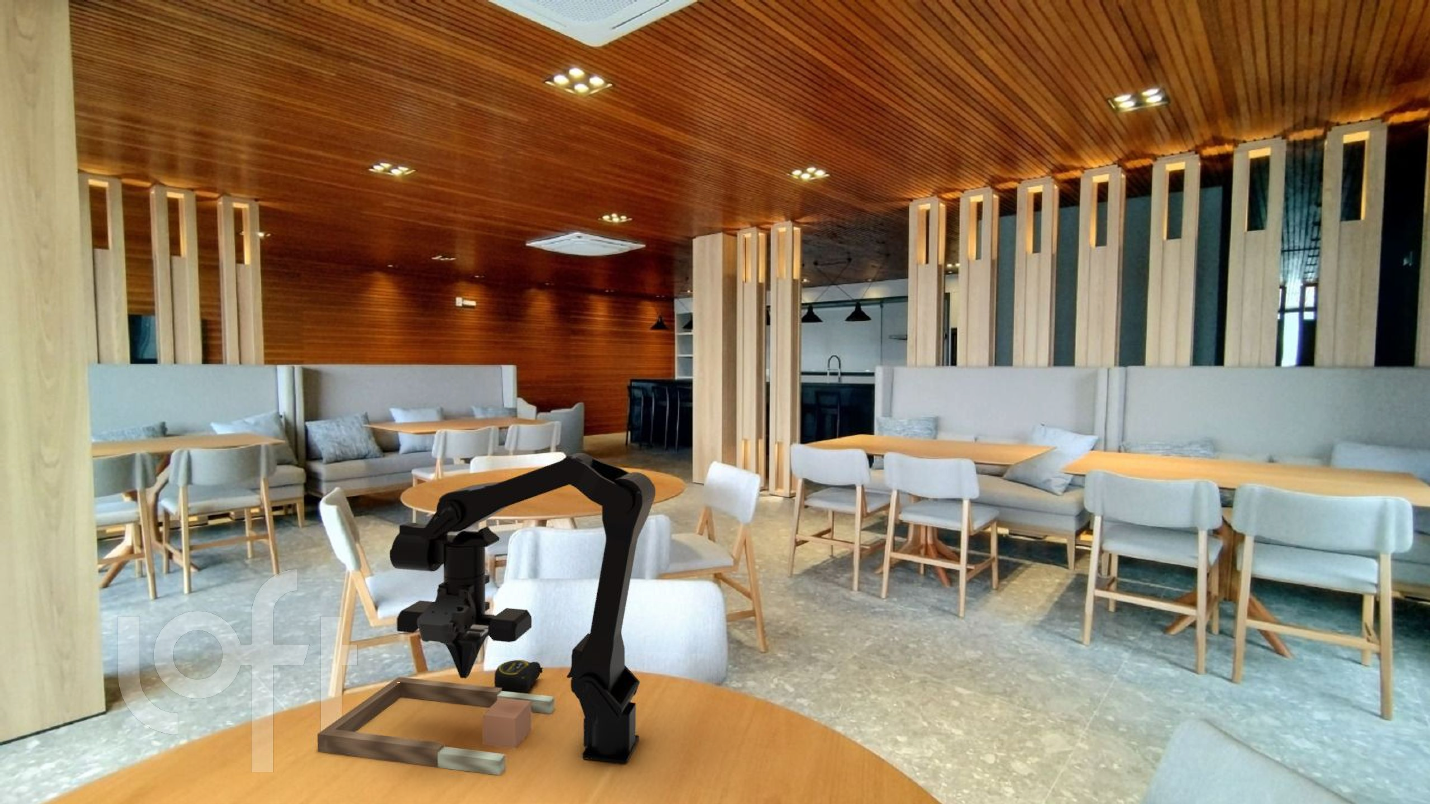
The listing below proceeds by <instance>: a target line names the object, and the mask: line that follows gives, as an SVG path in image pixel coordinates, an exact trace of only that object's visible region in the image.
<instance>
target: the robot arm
mask: <svg viewBox="0 0 1430 804" xmlns="http://www.w3.org/2000/svg"><path fill="white" fill-rule="evenodd" d="M566 486H572V487H574V488H576V489H577V490H578V491H579V492H580V493H581V494H582V495H584V496H585V497H586V498H587V499H589V500H590V501H592V502H594V504H597V505H599V506H601V521H602V525H603V531H604V534H605V544H604V548H603V554H602V556H603V557H602V562H601V565H600V566H601V567H600V573H599V578H598V584H597V591H596V596H595V602H594V607H593V613H592V619H591V624H590V625H591V626H590V632H589V633H587V634H586V635H585V636H584V637H583V638H582V639H581V640H580V641H579V642H578V643H577V644H576V645H575V647H574V648H572V650H571V656H570V657H571V665H570V666H571V667H570V668H569V669H570V670H569V672H568V674H567V675H566V678H567V679H570V690H571V693H573V694H574V696H575V697H576V698H577V699H578V700H579V704H580V706H581V709H582V710H581V711H582V712H583V715H584V718H583V739H582V740H583V744H582V745H583V747H584V748H585V749H584V750H583V752H582V755H581V757H582V759H583V760H592V761H600V762H609V763H614V764H615V763H616V764H627V762H629V759H630V757H631V756H632V753H633V752H634V750H635V748H636V747H637V744H638V742H639V740H640V736H639V735H638V734H636V726H637V725H636V723H637V722H636V718H637V715H636V714H637V713H636V712H637V709H636V707H637V704H636V702H631V700H633V698H634V696H635V695H636V693H637V692H638V689H639V687H640V685H641V684H640V683H641V682H640V680H639V679H638V677H636V675H635V674H634V673H633V672H632V671H631V670H630V669H629V668H628V667H627V665H626V662H625V661H626V659H625V658H626V655H625V654H626V650H625V649H626V648H625V643H624V640H623V635H622V629H623V625H624V617H625V611H626V607H627V601H628V595H629V590H630V585H631V578H632V572H633V567H634V560H635V555H636V549H637V543H638V540H639V537H640V534H641V533H642V530H643V528H644V526H645V523H646V521H647V520H648V517H649V514H650V512H651V509H652V506H653V504H654V500H655V499H656V486H655V484H654V483H653V482H652V479H651V478H650V477H649V476H647V475H646V474H644V473H642V472H636V471H632V472H629V471H628V470H626V469H624V468H621V467H618V466H616V465H613V464H609V463H607V462H605V461H601V460H599V459H597V458H595V457H592V456H590V455H589V454H588V453H584V452H577V453H575V454H574V453H573V454H571V455H569V456H565V457H563V459H561V460H559V461H557V462H553V463H551V464H549V465H548V464H547V465H545V466H542V467H540V468H537V469H533V470H532V471H528V472H526V473H523V474H520V475H517V476H515V477H512V478H509V479H505V480H501V481H497V482H485V483H479V484H472V485H468V486H465V487H462V488H459V489H456V490H451V491H450V492H449V491H448V492H446V493H445V494H442V495H441V496H440V498H439V499H438V502H437V505H436V512H435V513H434V514H433V516H432V517H431V519H430V520H429V521H428V522H427V523H426V524H421V523H418V522H417V523H416V522H411V521H409V522H406V523H402V524H400V525H399V528H398V529H399V530H398V532H399V533H397V535H396V536H395V538H394V540H393V543H392V545H391V549H390V550H389V560H390V562H391V565H392V566H393V568H395V569H398V570H408V571H410V570H411V571H421V572H423V571H424V572H436V571H438V570H439V569H440V568H441V566H442V565H443V582H441V583H439V584H438V585H437V588H436V589H437V590H436V596H435V597H436V598H435V601H432V600H431V601H429V600H417V601H416V602H415V603H412V604H411V605H409V606H408V607H405V608H404V609H402V610H401V611H399V613H398V616H397V617H396V631H397V632H401V633H413V634H414V633H415V632H417V631H419V634H420V635H419V636H420V638H421V641H422V642H426V643H429V642H438V643H440V644H443V645H445V646H446V648H447V650H448V652H449V653H450V656H451V658H452V660H453V663H454V665H455V668H456V670H457V673H458V675H459V678H461V679H467V678H468V677H469V676H470V674H471V672H472V669H473V667H474V665H475V663H476V660H477V657H478V655H479V652H480V651H481V648H482V647H483V644H484V642H485V641H486V639H487V638H488V636H489V638H490V639H491V640H492V641H494V642H502V643H503V642H505V643H513V642H516V641H517V640H519V639H520V638H521V637H522V636H524V634H526V633H527V632H528V631H530V629H531V628H532V623H533V622H532V620H533V618H532V615H531V614H530V612H529V610H528V609H523V608H509V607H506V608H504V609H502V610H501V611H500V612H499V613H497V614H492V613H491V614H490V613H486V612H487V611H488V610H490V609H491V608H490V607H491V606H490V605H491V602H490V601H486V585H487V584H489V583H490V582H491V580H490V579H491V576H490V575H489V574H486V548H487V547H490V546H491V545H494V544H495V543H497V542H499V541H500V537H499V535H497V534H496V533H495V532H493V531H492V530H491V529H490V527H489V526H485V527H484V526H483V527H482V528H480V529H479V530H478V531H476V530H475V531H473V530H465V529H469V528H470V527H473V526H475V525H477V524H478V525H479V524H480V523H482V522H484V521H486V520H488V519H489V518H492V517H494V516H495V515H497V514H498V513H500V512H501V511H503V510H505V509H506V508H508V507H509V506H512V505H515V504H518V503H520V502H523V501H526V500H529V499H533V498H535V497H537V496H541V495H543V494H546V493H549V492H553V491H554V490H558V489H561V488H563V487H566ZM457 532H458V533H457ZM449 533H457V534H455V535H454V534H449Z"/></svg>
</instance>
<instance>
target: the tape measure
mask: <svg viewBox="0 0 1430 804" xmlns="http://www.w3.org/2000/svg"><path fill="white" fill-rule="evenodd" d="M543 669H544V668H543V667H541V664H540V663H539V661H531V662H530V661H527V660H523V659H513V660H508V661H505V662H503V663H501V664H500V665H498V667H497V668H496V670H495V671H494V679H493V680H494V682H493V684H494V687H497V688H502V691H506V692H515V693H524V694H526V693H527V692H528V691H529V690H530V688H531V686H532V685H533V684H534V683H535V682H536V681H537V680H538V678H539V677H540V676H541V674H542V673H543Z"/></svg>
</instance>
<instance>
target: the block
mask: <svg viewBox="0 0 1430 804" xmlns="http://www.w3.org/2000/svg"><path fill="white" fill-rule="evenodd" d="M531 731H532V712H531V701H524V700H515V699H506V698H499V699H498V700H497V701H496V702H495V703H494V704H493V705H492V706H491V707H488V709H487V710H486V711H485V712H484V713H483V714H482V745H483V746H490V747H499V748H507V749H514V750H515V749H516V748H517V747H518V746H519V745H520V744H521V742H522V741H523V740H524V739H525V737H526V736H527V735H528V734H529V733H530V732H531Z"/></svg>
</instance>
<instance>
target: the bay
mask: <svg viewBox="0 0 1430 804" xmlns="http://www.w3.org/2000/svg"><path fill="white" fill-rule="evenodd" d="M397 682H400V683H397ZM400 698H408V699H417V700H426V701H433V702H443V703H450V704H460V705H468V706H475V707H476V706H477V707H487V708H490V707H491V706H492V705H493V704H494V703H495V702H496V701H497V700H498V699H499V698H506V699H515V700H524V701H531V713H538V714H540V713H541V714H549V715H550V714H552V713H553V711H554V710H555V696H551V695H550V696H549V695H541V694H532V693H515V692H506V691H502V688H497V687H495V686H487V685H486V686H485V685H479V684H478V685H477V684H466V683H456V682H448V681H441V680H440V681H439V680H429V679H420V678H412V677H404V676H403V677H401V676H397V677H396V678H395V679H394V680H392V681H391V682H389V683H387V684H386V685H385V686H383V687H382V688H380V689H379V690H378V691H376V692H375V693H374V694H372V695H371V696H369V697H367V699H365V700H364V701H362V702H361V703H359V704H358V705H357V706H355V707H353V708H352V709H350V710H349V711H348V712H347V713H345V714H343V715H342V716H341V717H339V718H338V719H336V720H335V721H334V722H332V723H331V724H330V725H328V726H326V728H324V729H322V730H321V731H319V732H318V733H317V737H316V738H317V752H321V753H326V754H334V755H343V756H349V757H351V756H352V757H358V758H359V757H360V758H365V759H374V760H380V761H387V762H388V761H389V762H395V763H396V762H397V763H402V764H403V763H404V764H410V765H419V766H425V767H426V766H427V767H432V768H433V767H434V768H441V769H449V770H456V771H464V772H472V773H479V774H487V775H494V776H501V774H502V773H503V772H504V771H505V770H506V753H505V754H504V753H496V752H489V751H481V750H475V749H474V750H473V749H466V748H456V747H450V746H445V743H444V742H439V741H431V740H430V741H429V740H421V739H413V738H407V737H399V736H398V737H397V736H390V735H383V734H374V733H366V732H360V731H359V732H358V730H359V729H361V728H362V727H364V726H365V725H366V724H367V723H369V722H370V721H371V720H372V719H374V718H375V717H376V716H378V715H379V714H380V713H381V712H383V711H384V710H385V709H387V708H388V707H390V706H391V705H392V704H394V703H395V702H397V701H398V700H399V699H400Z"/></svg>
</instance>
